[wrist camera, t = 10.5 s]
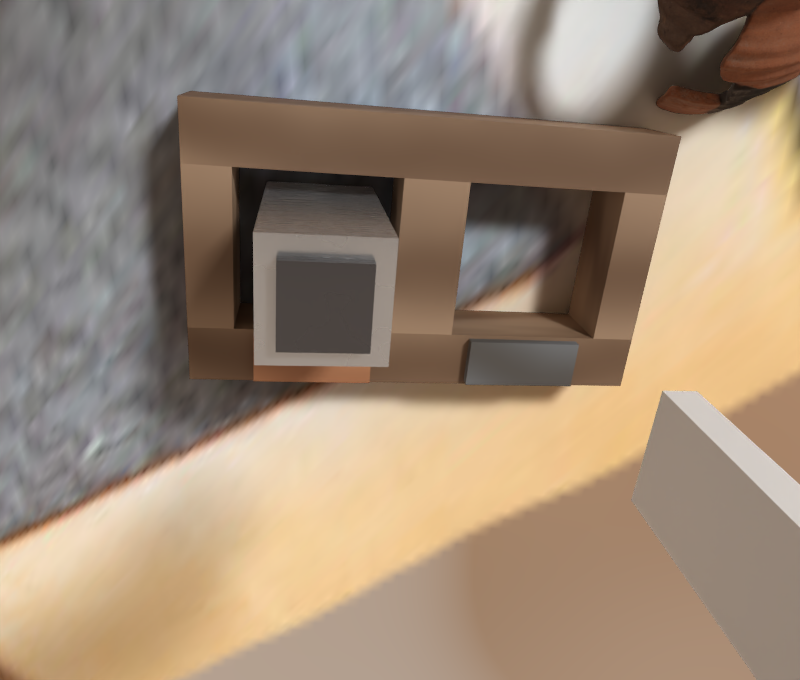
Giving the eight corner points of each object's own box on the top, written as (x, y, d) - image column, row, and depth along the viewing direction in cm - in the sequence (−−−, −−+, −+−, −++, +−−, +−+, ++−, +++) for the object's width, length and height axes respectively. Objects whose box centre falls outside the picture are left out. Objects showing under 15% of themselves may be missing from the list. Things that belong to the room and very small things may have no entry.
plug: (266, 181, 27) (251, 236, 19) (372, 186, 28) (400, 242, 20) (266, 281, 29) (252, 372, 21) (366, 285, 30) (390, 373, 22)
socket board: (190, 91, 26) (175, 96, 22) (645, 128, 28) (686, 137, 25) (199, 349, 30) (188, 383, 27) (594, 358, 33) (624, 389, 30)
